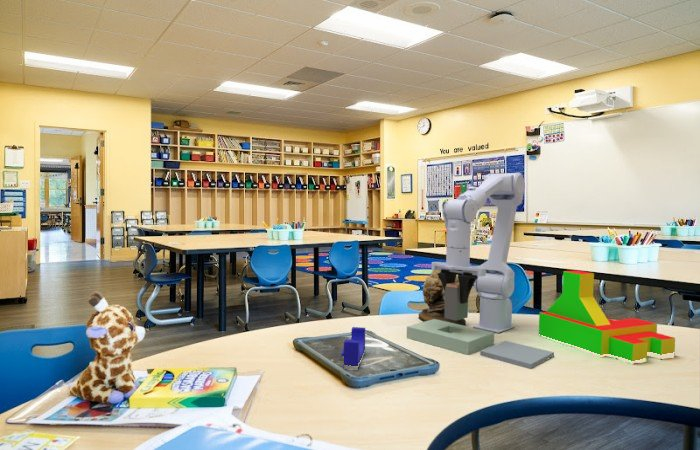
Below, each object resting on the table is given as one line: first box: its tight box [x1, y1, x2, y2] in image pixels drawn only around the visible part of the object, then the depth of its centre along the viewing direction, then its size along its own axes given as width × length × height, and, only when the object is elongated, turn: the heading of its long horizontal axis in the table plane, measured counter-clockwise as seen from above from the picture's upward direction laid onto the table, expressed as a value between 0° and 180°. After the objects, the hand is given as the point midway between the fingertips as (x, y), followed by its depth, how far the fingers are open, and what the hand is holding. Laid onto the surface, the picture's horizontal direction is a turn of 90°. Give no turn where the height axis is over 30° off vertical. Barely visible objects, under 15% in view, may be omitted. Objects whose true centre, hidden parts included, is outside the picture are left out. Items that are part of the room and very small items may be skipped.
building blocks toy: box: [538, 270, 676, 361], centre depth 118 cm, size 19×25×18 cm
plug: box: [444, 282, 469, 321], centre depth 118 cm, size 5×4×9 cm
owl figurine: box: [418, 270, 467, 326], centre depth 139 cm, size 18×12×17 cm, turn 27°
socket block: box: [406, 319, 495, 356], centre depth 119 cm, size 12×18×3 cm, turn 45°
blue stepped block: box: [341, 326, 366, 366], centre depth 103 cm, size 12×4×6 cm, turn 171°
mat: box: [479, 340, 555, 369], centre depth 108 cm, size 12×12×1 cm
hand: (456, 301), depth 118 cm, fingers closed on plug, 3 cm apart
